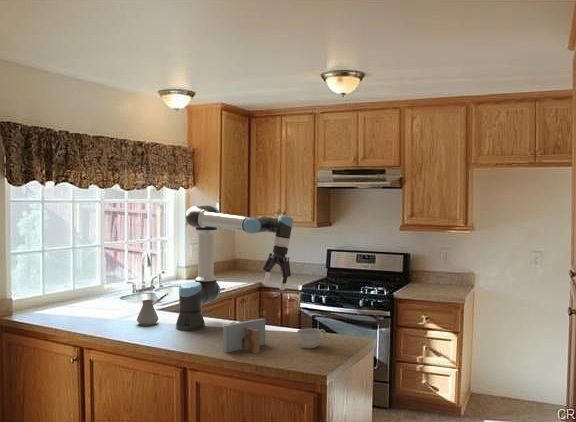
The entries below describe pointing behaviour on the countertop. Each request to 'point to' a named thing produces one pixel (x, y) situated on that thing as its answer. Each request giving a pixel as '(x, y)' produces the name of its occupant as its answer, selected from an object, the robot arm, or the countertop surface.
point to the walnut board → (251, 339)
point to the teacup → (310, 337)
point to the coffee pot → (148, 312)
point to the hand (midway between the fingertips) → (273, 287)
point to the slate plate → (241, 334)
